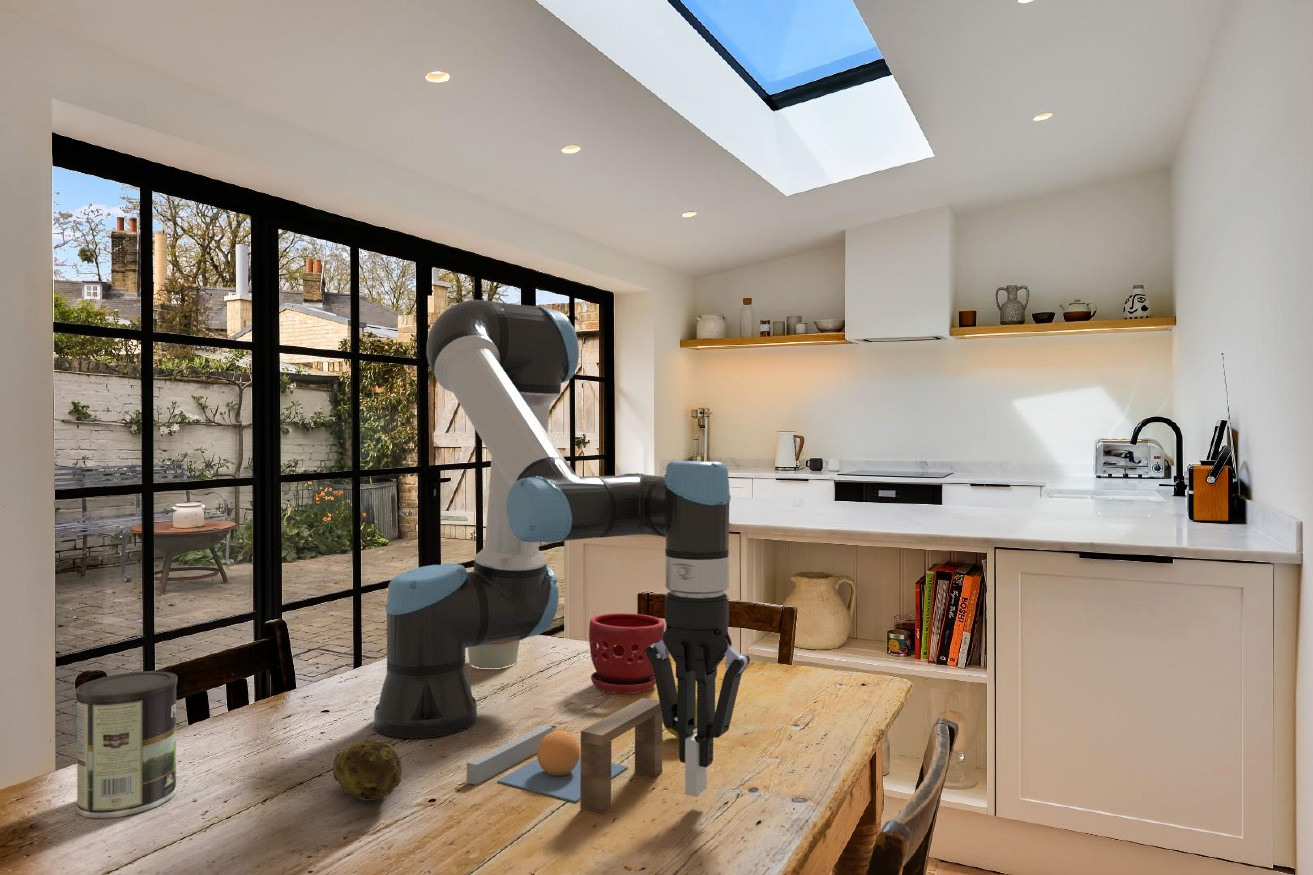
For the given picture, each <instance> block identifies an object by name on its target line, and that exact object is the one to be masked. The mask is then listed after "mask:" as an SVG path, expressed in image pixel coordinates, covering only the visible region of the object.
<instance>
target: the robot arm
mask: <svg viewBox="0 0 1313 875" xmlns="http://www.w3.org/2000/svg"><path fill="white" fill-rule="evenodd" d="M579 346H580V345H579V339H578V336H577V333H576V329H575V327H574V326H573V325H572V322H571V321H570V319H569V318H568V316H566V315H565V314H564V313H562V312H561V311H559V310H556V309H551V308H548V307H547V308H546V307H543V306H539V305H528V304H527V305H525V304H515V303H507V302H498V301H497V302H496V301H488V300H484V299H481V300H480V299H469V300H465V301H460V302H458V303H456V304H453V305H452V306H450V307H449V308H447V309H446V310H444V311H443V312H441V314H440V315H439V316H438V317H437V319H435V321H434V323H433V324H432V326H431V329H430V331H429V333H428V336H427V341H426V358H427V363H428V365H429V368H430V371H431V372H432V374H433V376H434V377H435V379H436V381H437V383H438V384H439V386H440V387H442V388H443V389H444V390H446V391H448V392H451V393H452V394H453V395H454V397H455V398H456V400H457V401H458V403H459V404H460V406H461V408H462V410H463V411H464V413H465V415H466V416H467V418H468V420H469V421H470V423H471V425H472V426H473V428H474V430H475V432H476V433H477V434H478V436H479V438H480V440H481V441H482V443H483V444H484V446H485V447H486V449H487V451H488V452H489V454H490V455H491V456H490V457H491V459H490V473H489V485H488V487H489V488H488V498H487V514H486V516H487V517H486V527H485V528H486V529H485V540H484V541H485V542H484V547H483V548H482V549H481V550H480V551H479V552H478V553H476V554H475V556H474V561H473V570H472V571H467V570H466V567H465V566H464V565H462V564H459V563H442V564H432V565H425V566H420V567H415V568H412V569H409V570H406V571H404V572H401V573H399V574H397V575H396V576H394V577H393V578H391V580H390V581H389V583H388V587H387V599H386V600H387V601H386V605H385V612H386V675H385V679H384V682H383V685H382V687H381V691H380V696H379V701H378V703H377V704H376V706H375V710H374V714H373V715H374V716H373V717H374V720H373V724H374V726H373V728H374V730H376V732H377V733H380V734H381V735H384V736H388V737H392V738H399V739H427V738H436V737H443V736H447V735H451V734H454V733H457V732H460V731H463V730H466V729H468V728H469V727H471V726H472V725H473V724H474V723H475V722H476V720H477V716H478V713H477V712H478V711H477V710H478V708H477V706H478V705H477V700H476V698H475V697H474V696H473V694H472V688H471V684H470V680H469V679H470V678H469V676H468V673H467V670H466V668H467V667H466V651H467V649H468V647H473V646H479V645H485V644H491V643H498V642H505V641H512V640H520V641H523V640H525V639H527V638H531V637H535V636H539V635H541V634H542V633H544V631H545V630H548V629H549V627H550V626H551V624H552V623H553V621H554V620H555V617H556V614H557V611H558V606H559V600H560V595H559V594H560V591H559V590H560V589H559V586H558V585H557V582H558V580H557V577H556V574H555V573H554V571H553V570H552V569H551V567H549V566H547V563H548V562H547V561H548V560H547V558H546V557H545V555H543V553H542V552H541V551H540V549H539V546H540V543H546V544H551V543H553V544H555V543H558V542H560V543H561V542H566V541H575V540H578V541H579V540H585V539H597V538H598V539H599V538H611V537H626V536H636V535H637V536H638V535H639V536H640V535H646V536H647V535H648V536H656V537H657V536H658V537H662V538H665V549H664V552H665V584H664V585H665V588H666V589H667V590H669V591H668V592H667V593H666V594H665V597H664V623H665V624H666V625H665V626H666V627H665V629H664V634H663V639H662V640H661V641H659V642H658V643H655V644H653V645H650V646H648V647H646V649H645V652H646V655H647V657H648V659H649V660H650V662H651V664H652V666H653V671H654V676H655V681H656V684H655V686H656V690H657V691H656V692H657V695H658V701H660V706H661V711H662V717H663V722H664V724H663V726H664V725H665V727H666V728H667V729H670V728H671V729H673V730H675V731H676V732H677V733H678V735H679V739H678V759H679V762H680V763H684V770H685V771H684V794H685V795H687V796H691V797H696V798H697V797H699V795H701V794H702V793H704V792H705V790H706V789H707V784H708V783H707V780H708V779H707V771H708V770H707V769H708V767H709V766H711V765H712V764H713V762H714V738H715V739H718V738H720V737H722V736H723V735H724V734H725V733H727V732H728V731H729V729H730V725H731V722H732V716H733V712H734V708H735V704H736V700H737V696H738V692H739V687H740V683H741V679H742V675H743V673H744V672H745V670H746V668H747V667H748V665H749V664H750V662H751V658H750V656H749V655H748V654H745V653H744V654H741V653H740V652H738V651H737V650H736V649H735V648H734V647H732V646H733V645H732V644H733V643H732V639H731V638H730V635H729V630H728V629H729V622H730V621H729V619H730V618H729V615H730V614H729V613H730V611H729V609H730V608H729V606H730V605H729V599H730V598H729V596H728V594H727V593H726V592H725V591H727V590H728V589H729V588H730V572H729V571H730V570H729V568H730V566H729V564H730V563H729V562H730V561H729V560H730V559H729V554H730V553H729V552H730V550H729V549H730V548H729V547H730V546H729V545H730V543H729V542H730V540H729V539H730V502H731V499H732V498H731V494H730V481H729V478H730V477H729V470H728V468H727V467H728V466H726V465H725V464H724V463H723V462H721V461H701V460H698V461H697V460H686V461H685V460H679V461H677V460H676V461H670V462H669V463H667V465H666V469H665V476H663V475H662V476H661V475H653V474H652V475H651V474H650V475H649V474H644V473H638V472H636V473H623V474H619V475H602V476H600V475H599V476H598V475H597V476H596V475H595V476H592V475H591V476H589V475H587V476H579V475H577V474H576V473H575V471H574V470H573V468H572V467H571V466H570V464H569V463H568V462H567V460H566V459H565V457H564V455H562V453H561V452H560V451H559V449H558V448H557V446H556V444H555V443H554V441H553V440H552V438H551V437H550V436H549V434H548V433H549V424H550V423H549V421H550V407H551V404H552V403H553V401H555V400H556V399H557V398H559V396H561V391H562V390H561V389H562V384H564V383H565V382H568V381H570V380H571V379H572V378H573V376H574V375H575V371H576V370H577V368H578V366H579V357H580V347H579ZM670 656H671V658H672V660H673V661H674V663H675V676H674V672H673V666H672V662H671V661H672V660H671V659H670ZM724 659H725V662H724V667H725V669H726V670H725V673H724V675H723V679H722V683H721V688H720V691H719V695H718V700H717V704H716V678H717V674H718V666H719V665H720V664H721V663H722V661H723V660H724ZM675 678H676V679H677V685H678V695H677V690H676V686H677V685H676V681H675ZM696 697H697V725H696V724H695V714H696ZM663 722H662V723H663ZM665 727H664V728H665ZM666 728H665V729H666ZM695 730H696V731H695ZM694 731H695V732H694Z"/></svg>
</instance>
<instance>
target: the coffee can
mask: <svg viewBox="0 0 1313 875" xmlns="http://www.w3.org/2000/svg"><path fill="white" fill-rule="evenodd" d="M178 678H179V677H178V675H177V674H175V673H173V672H170V671H161V670H160V671H159V670H146V671H133V672H132V671H131V672H125V673H124V672H123V673H118V674H117V673H116V674H113V675H108V676H103V677H99V678H97V679H92V680H90V681H87V682H85V683H84V682H83V684H81V685H79V686H78V687H76V689H75V697H76V698H77V699H76V700H77V701H76V702H77V703H76V704H77V705H76V706H77V710H76V712H77V713H76V714H77V715H76V721H77V726H76V730H77V732H76V733H77V737H76V740H77V741H76V744H77V746H76V747H77V749H76V750H77V751H76V752H77V753H76V754H77V755H76V756H77V758H76V759H77V760H76V761H77V762H76V763H77V764H76V765H77V767H76V768H77V770H76V771H77V774H76V775H77V776H76V777H77V779H76V780H77V781H76V782H77V786H76V787H77V788H76V790H77V791H76V792H77V793H76V796H77V798H76V800H77V801H76V803H77V804H76V809H75V810H76V812H77V814H79V815H80V816H83V817H84V818H89V819H113V818H120V817H125V816H130V815H134V814H135V815H136V814H139V813H142V812H146V811H149V810H151V809H154V808H157V807H159V806H162V805H163V804H165V803H167V802H168V801H170V800H171V799H173V797H175V795H176V794H177V791H178V788H177V684H178Z"/></svg>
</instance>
